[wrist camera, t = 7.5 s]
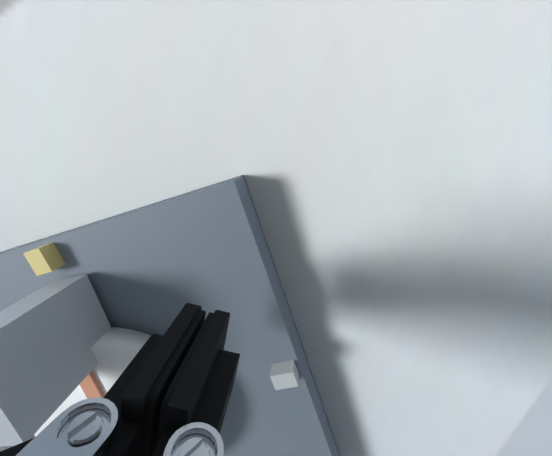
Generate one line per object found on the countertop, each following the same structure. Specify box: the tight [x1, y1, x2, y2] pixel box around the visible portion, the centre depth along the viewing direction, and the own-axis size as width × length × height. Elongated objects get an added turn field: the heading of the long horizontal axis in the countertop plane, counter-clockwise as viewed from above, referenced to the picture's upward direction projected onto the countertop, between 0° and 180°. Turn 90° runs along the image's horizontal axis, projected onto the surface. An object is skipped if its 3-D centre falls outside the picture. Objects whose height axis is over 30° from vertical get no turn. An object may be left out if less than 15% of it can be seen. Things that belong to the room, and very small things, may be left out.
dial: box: [0, 274, 151, 447], centre depth 13 cm, size 13×10×5 cm
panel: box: [0, 175, 340, 456], centre depth 17 cm, size 20×20×3 cm
